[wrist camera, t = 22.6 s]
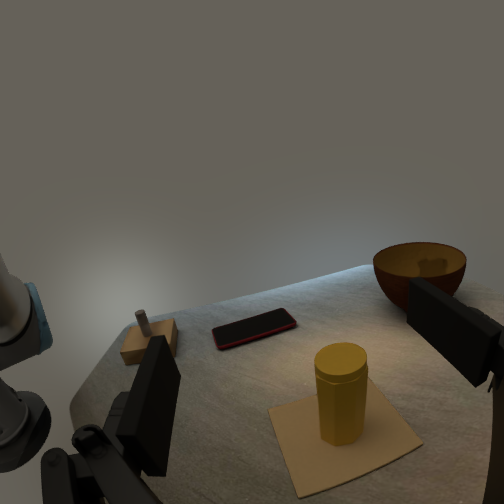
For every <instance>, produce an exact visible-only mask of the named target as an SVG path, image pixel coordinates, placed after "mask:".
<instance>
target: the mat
mask: <svg viewBox="0 0 504 504" xmlns="http://www.w3.org/2000/svg"><path fill="white" fill-rule="evenodd" d="M268 413H269V416H270V419H271V422H272V425H273V428H274V431H275V434H276V436H277V439H278V442H279V445H280V448H281V451H282V454H283V457H284V460H285V462H286V465H287V468H288V471H289V474H290V477H291V479H292V482H293V485H294V488H295V490H296V493H297V496H298V499H300V498H303V497H307V496H310V495H313V494H316V493H319V492H322V491H325V490H328V489H331V488H333V487H336V486H339V485H341V484H344V483H346V482H349V481H351V480H354V479H356V478H359V477H361V476H363V475H365V474H368V473H370V472H372V471H374V470H376V469H378V468H381V467H383V466H385V465H387V464H389V463H391V462H393V461H395V460H396V459H398V458H400V457H402V456H404V455H406V454H408V453H409V452H411V451H413V450H415V449H416V448H418V447H420V446H421V445H423V442H422V441H421V440H420V438H419V437H418V436H417V435H416V434H415V432H414V431H413V430H412V429H411V427H410V426H409V425H408V424H407V423H406V421H405V420H404V419H403V418H402V417H401V415H400V414H399V413H398V412H397V411H396V409H395V408H394V407H393V406H392V405H391V404H390V402H389V401H388V400H387V399H386V398H385V396H384V395H383V394H382V393H381V392H380V390H379V389H378V388H377V387H376V386H375V384H374V383H373V382H372V381H371V380H370V378H369V377H368V382H367V396H366V408H365V419H364V428H363V432H362V433H361V435H360V436H359V437H358V438H357V439H356V440H355V441H354V443H351V444H346V445H340V446H333V445H331V444H329V443H327V442H326V441H324V440H322V439H321V436H320V427H319V413H318V400H317V394H316V395H313V396H310V397H307V398H304V399H301V400H298V401H294V402H291V403H288V404H284V405H281V406H277V407H274V408H270V409H268Z"/></svg>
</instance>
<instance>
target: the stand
mask: <svg viewBox="0 0 504 504" xmlns="http://www.w3.org/2000/svg"><path fill="white" fill-rule="evenodd" d="M135 316H136V318H137V321H138V324H139V326H134V327H130V328H129V331H128V333H127V336H126V338H125V341H124V343H123V346H122V348H121V351H120V354H121V356H122V358H123V360H124V362H125V364H126V365H130V364H137V363H141V361H142V358H143V355H144V353H145V350H146V348H147V345H148V343H149V340H150V338H151V336H158V335H165V336H166V339H167V342H168V344H169V347H170V350H171V352H172V355H173V357H175V354H176V344H177V334H178V329H177V326H176V323H175V320H174V318H173V319H169V320H164V321H159V322H154V323H149V322H148V319H147V316H146V313H145V311H144V310H138V311H137V312H135Z"/></svg>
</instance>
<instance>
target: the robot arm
mask: <svg viewBox="0 0 504 504" xmlns="http://www.w3.org/2000/svg"><path fill="white" fill-rule="evenodd" d="M407 323H408V324H409V325H410V326H411V327H412V328H413V329H414V330H415V331H417V332H418V333H419V334H420V335H421V336H422V337H423V338H424V339H425V340H426V341H427V342H429V343H430V344H431V345H432V346H433V347H434V348H435V349H436V350H437V351H438V352H439V353H440V354H441V355H442V356H443V357H444V358H445V359H447V360H448V361H449V362H450V363H451V364H452V365H453V366H454V367H455V368H456V369H457V370H458V371H459V372H460V373H461V374H462V375H463V376H464V377H465V378H466V379H467V380H468V381H469V382H470V383H471V384H472V385H473V386H474V387H475V388H476V387H477V386H479V385H480V384H482V383H483V382H485V381H486V380H487V377H488V374H489V372H490V371H492V372H493V373H494V375H493V378H492V381H491V383H490V386H489V388H488V392H490V390H491V388H493V423H492V441H491V453H490V462H489V469H488V476H487V482H486V488H485V493H484V498H483V503H482V504H504V326H502V325H501V324H499V323H498V322H496V321H495V320H493V319H492V318H491V319H490V317H489V316H487V315H485V314H484V313H483V312H481V311H480V310H478V309H476V308H473V307H467V306H466V305H464V304H462V303H461V302H459V301H458V300H456V299H455V298H453V297H452V296H450V295H448V294H447V293H445V292H444V291H442V290H441V289H439V288H437V287H436V286H434V285H433V284H431V283H429V282H428V281H426V280H424V279H423V278H421V277H416V278H413V279H410V280H409V291H408V311H407ZM52 343H53V339H52V335H51V331H50V328H49V325H48V323H47V320H46V316H45V313H44V310H43V307H42V304H41V301H40V298H39V295H38V292H37V289H36V287H35V285H34V284H33V283H24V284H23V282H22V281H21V280H20V279H18V278H17V277H15V276H13V275H11V274H9V272H8V270H7V268H6V266H5V263H4V261H3V259H2V257H1V254H0V371H1V370H3V369H6V368H8V367H10V366H12V365H14V364H17V363H19V362H21V361H23V360H26V359H28V358H30V357H32V356H35V355H39V354H41V353H42V352H43V351H44V350H46V349H48V348H50V347H51V346H52ZM180 379H181V375H180V373H179V370H178V368H177V365H176V363H175V360H174V358H173V355H172V352H171V350H170V347H169V344H168V342H167V339H166V336H165V335H158V336H151V338H150V340H149V343H148V345H147V348H146V350H145V353H144V355H143V358H142V361H141V363H140V366H139V369H138V371H137V374H136V376H135V379H134V382H133V385H132V387H131V390H130V391H129V392H121V393H120V394H119V395H118V396H117V397H116V398H115V399H114V401H113V404H112V406H111V410H110V411H109V414H108V416H107V419H106V422H105V424H104V427H103V429H101V428H100V427H99V426H97V425H94V424H92V425H85V426H82V427H81V428H79V429H78V430H76V432H75V433H74V434H73V437H72V445H73V446H74V447H75V448H76V449H77V451H78V452H79V453H78V454H73V455H68V454H67V453H66V452H65V451H64V450H63V449H61V448H52V449H50V450H48V451H46V452H45V453H44V455H43V456H42V459H41V482H42V496H43V504H105V501H104V498H103V497H106V499H107V500H108V502H109V504H163V503H162V502H161V501H160V500H159V499H158V497H157V496H156V495H155V494H154V493H153V492H152V490H151V489H150V488H149V487H148V485H147V484H146V483H145V482H144V481H143V479H142V478H141V477H140V476H141V471H142V470H143V471H144V472H145V473H146V475H147V476H159V477H166V472H167V464H168V456H169V449H170V442H171V435H172V428H173V422H174V415H175V409H176V403H177V397H178V391H179V385H180ZM13 390H14V389H13V388H11V387H10V386H8V385H7V384H6V383H5V382H4V381H3V380H2V379H1V378H0V449H3V448H6V447H8V446H10V445H11V444H13V443H14V442H15V441H17V440H18V439H19V438H20V437H21V435H22V434H23V433H24V432H25V430H26V428H27V426H28V424H29V421H30V415H31V414H30V409H29V407H28V406H27V404H26V403H25V401H24V400H23V399H22V398H21V397H20V396H19V395H18V394H17V393H16V391H15V390H14V391H13Z"/></svg>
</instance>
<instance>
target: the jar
mask: <svg viewBox="0 0 504 504" xmlns="http://www.w3.org/2000/svg"><path fill="white" fill-rule="evenodd" d="M314 362H315V365H314V366H315V376H316V388H317V400H318V413H319V427H320V436H321V439H322V440H324V441H326V442H327V443H329V444H331V445H333V446H340V445H346V444H351V443H354V441H355V440H356V439H357V438H358V437H359V436H360V435H361V433H362V432H363V428H364V419H365V408H366V396H367V382H368V366H367V354H366V352H365V350H364V349H363V348H362V347H360V346H358V345H356V344H353V343H335V344H331V345H328V346H326V347H324V348H322V349H321V350H320V351H319V352H318V353H317V354H316V356H315V360H314Z"/></svg>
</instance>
